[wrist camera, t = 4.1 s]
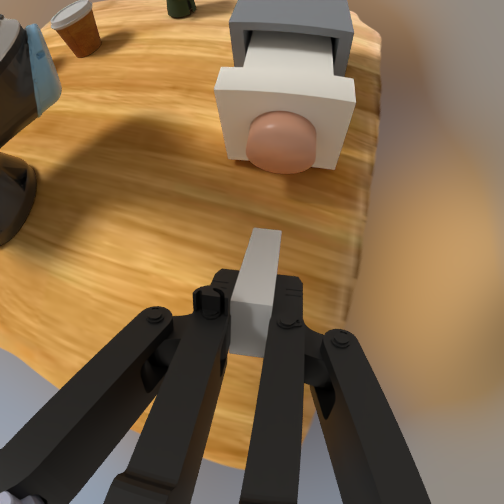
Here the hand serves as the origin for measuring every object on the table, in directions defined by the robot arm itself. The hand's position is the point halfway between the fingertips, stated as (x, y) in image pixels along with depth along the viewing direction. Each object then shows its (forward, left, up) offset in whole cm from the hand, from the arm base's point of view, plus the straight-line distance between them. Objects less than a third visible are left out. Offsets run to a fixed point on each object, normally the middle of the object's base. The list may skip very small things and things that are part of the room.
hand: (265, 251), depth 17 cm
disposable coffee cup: (+29, +57, -17) cm, 66 cm away
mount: (+33, +12, -17) cm, 39 cm away
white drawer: (+22, +8, -16) cm, 28 cm away
